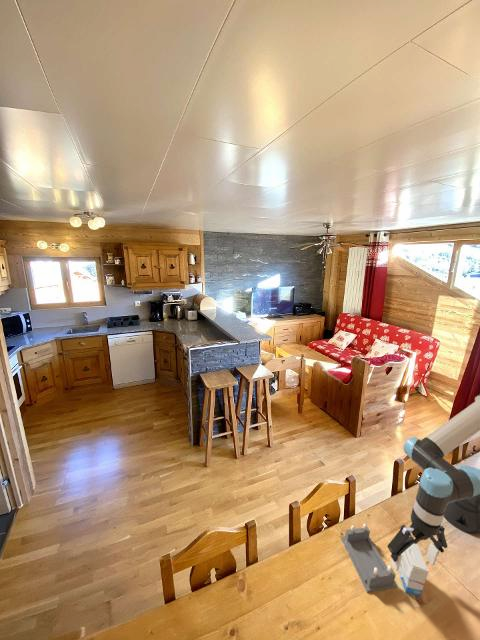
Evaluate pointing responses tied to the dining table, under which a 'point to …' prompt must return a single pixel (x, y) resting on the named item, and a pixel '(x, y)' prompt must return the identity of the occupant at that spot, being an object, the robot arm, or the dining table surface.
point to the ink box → (413, 570)
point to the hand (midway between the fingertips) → (412, 563)
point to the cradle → (368, 560)
